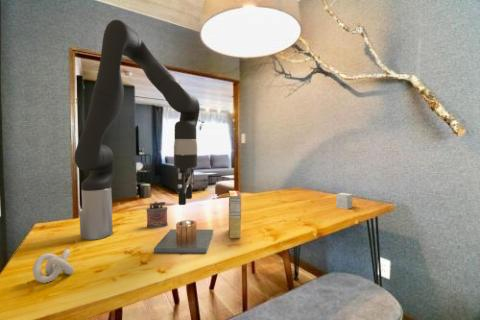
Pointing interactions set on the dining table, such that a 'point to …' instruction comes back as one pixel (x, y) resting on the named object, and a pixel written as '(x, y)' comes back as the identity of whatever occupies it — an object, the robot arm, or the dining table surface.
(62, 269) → the knot
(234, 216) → the candy box
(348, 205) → the skincare box
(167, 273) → the dining table surface
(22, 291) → the dining table surface
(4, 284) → the dining table surface
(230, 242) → the dining table surface
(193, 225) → the wooden tube
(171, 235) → the base
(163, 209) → the lighter
